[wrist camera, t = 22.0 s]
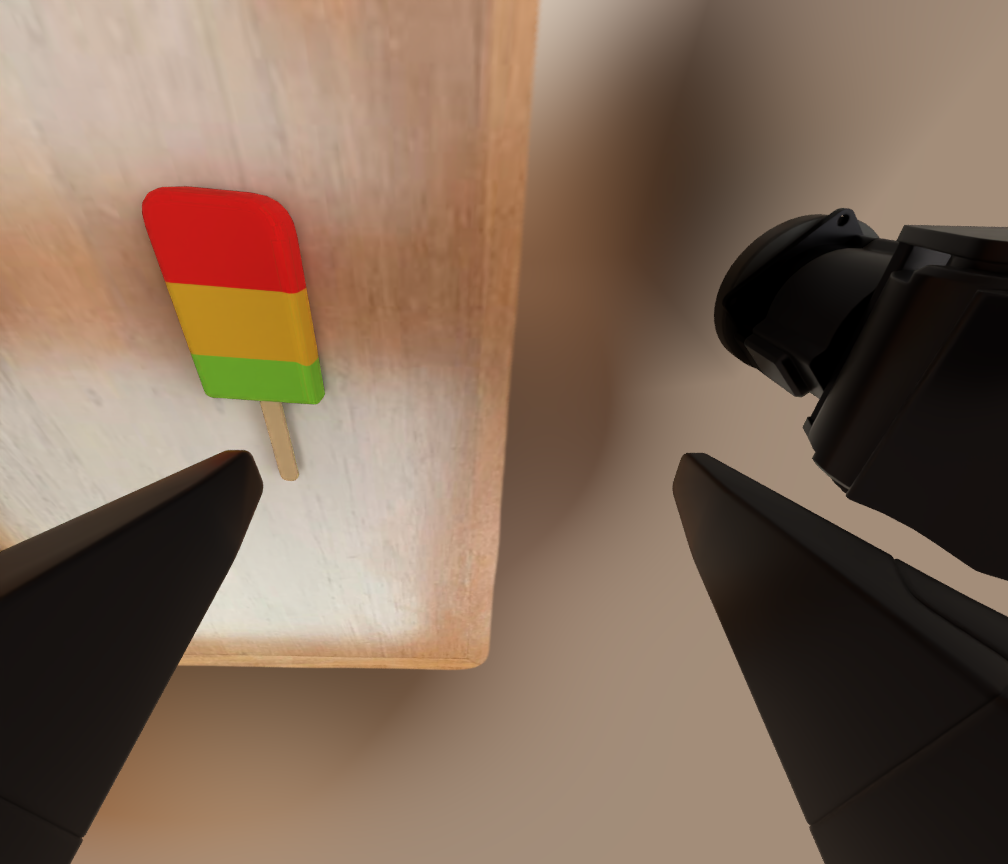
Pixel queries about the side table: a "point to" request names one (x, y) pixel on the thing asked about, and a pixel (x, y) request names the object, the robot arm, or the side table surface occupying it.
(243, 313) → the popsicle
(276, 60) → the side table surface
